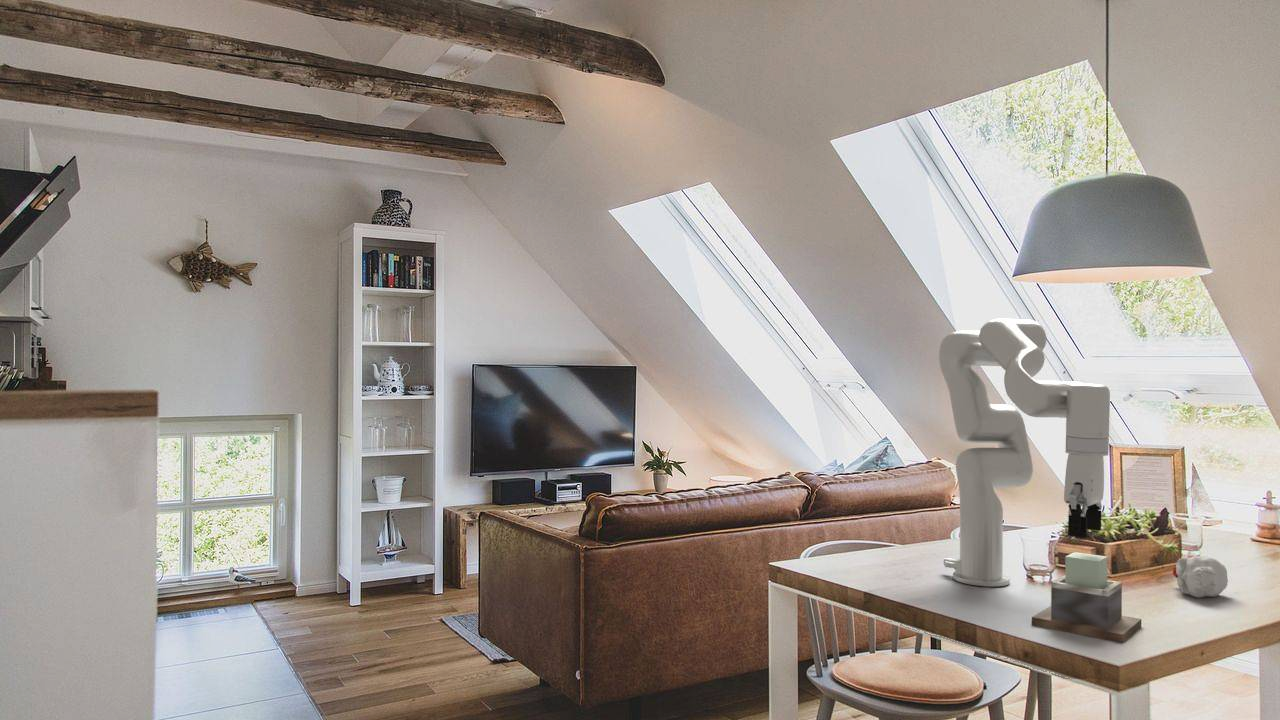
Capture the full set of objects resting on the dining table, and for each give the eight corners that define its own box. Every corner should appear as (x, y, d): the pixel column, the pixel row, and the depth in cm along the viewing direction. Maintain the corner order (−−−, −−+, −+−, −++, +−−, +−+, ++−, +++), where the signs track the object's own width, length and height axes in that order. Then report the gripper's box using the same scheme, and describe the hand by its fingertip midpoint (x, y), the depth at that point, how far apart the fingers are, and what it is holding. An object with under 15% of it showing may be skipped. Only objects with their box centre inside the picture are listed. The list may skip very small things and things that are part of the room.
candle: (1200, 600, 186) (1154, 591, 201) (1249, 600, 187) (1200, 591, 202) (1196, 558, 187) (1151, 552, 202) (1245, 557, 188) (1196, 552, 203)
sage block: (1065, 587, 168) (1065, 556, 168) (1074, 581, 172) (1074, 552, 173) (1098, 592, 164) (1099, 561, 164) (1107, 587, 168) (1107, 556, 168)
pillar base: (1031, 624, 168) (1031, 581, 168) (1054, 610, 179) (1054, 569, 179) (1122, 642, 157) (1122, 596, 158) (1141, 626, 168) (1141, 583, 168)
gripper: (1079, 441, 178) (1077, 524, 178) (1052, 447, 165) (1050, 536, 165) (1119, 445, 173) (1117, 529, 173) (1095, 451, 160) (1092, 543, 160)
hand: (1084, 533), depth 169 cm, fingers open, 9 cm apart
